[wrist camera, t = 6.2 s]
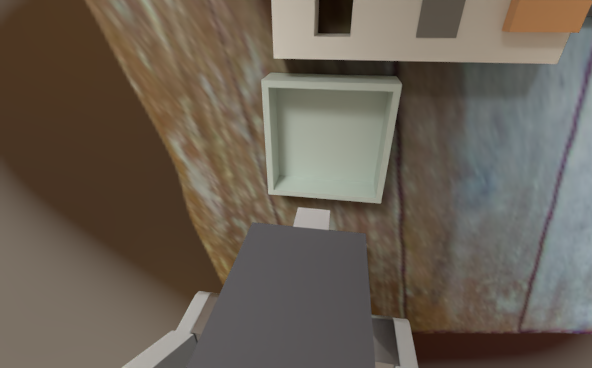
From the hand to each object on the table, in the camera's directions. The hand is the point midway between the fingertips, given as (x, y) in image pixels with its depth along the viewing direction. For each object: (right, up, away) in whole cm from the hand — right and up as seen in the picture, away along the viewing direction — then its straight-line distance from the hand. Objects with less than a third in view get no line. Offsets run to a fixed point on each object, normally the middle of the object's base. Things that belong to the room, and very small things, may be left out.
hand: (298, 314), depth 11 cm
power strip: (+11, +17, +9) cm, 22 cm away
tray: (+3, +9, +15) cm, 18 cm away
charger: (+1, +3, +4) cm, 5 cm away
